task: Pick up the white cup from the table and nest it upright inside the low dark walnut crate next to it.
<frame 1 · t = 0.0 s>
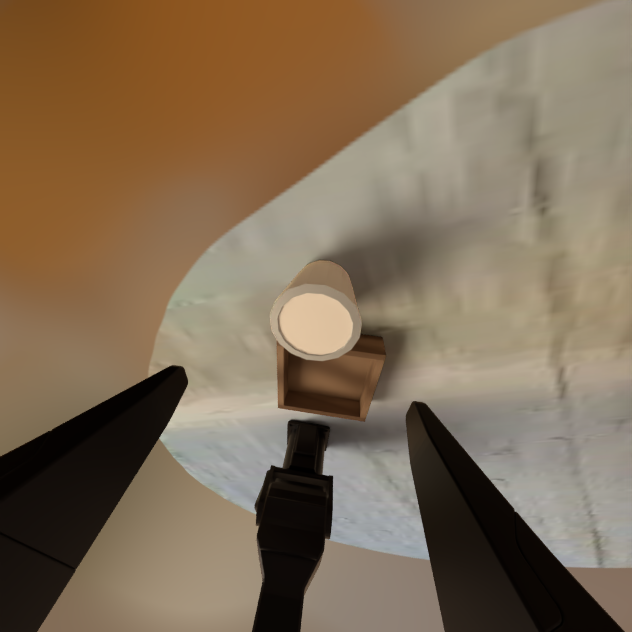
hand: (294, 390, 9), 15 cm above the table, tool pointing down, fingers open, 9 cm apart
walnut crate: (327, 366, 28), on the table
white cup: (323, 286, 23), on the table
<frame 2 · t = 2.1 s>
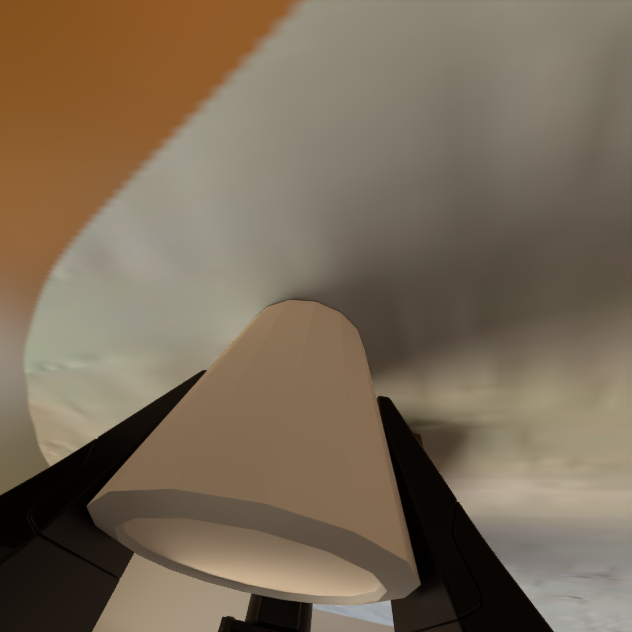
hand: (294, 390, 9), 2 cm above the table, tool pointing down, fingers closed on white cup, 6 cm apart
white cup: (304, 349, 11), on the table, touching gripper
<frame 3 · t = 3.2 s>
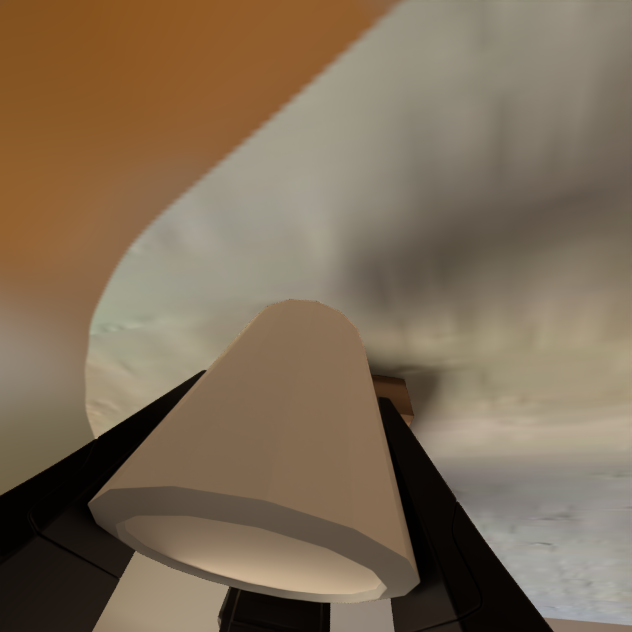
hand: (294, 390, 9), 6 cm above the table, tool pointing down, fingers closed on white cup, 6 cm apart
walnut crate: (322, 413, 20), on the table
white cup: (304, 348, 11), point 4 cm above the table, touching gripper
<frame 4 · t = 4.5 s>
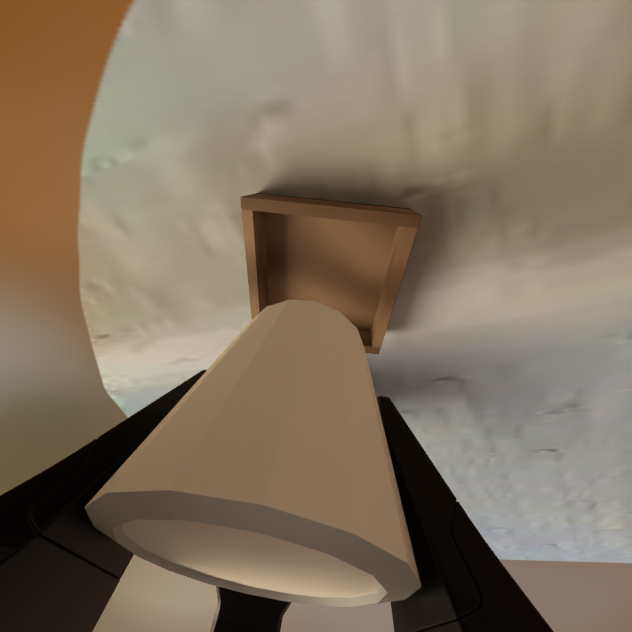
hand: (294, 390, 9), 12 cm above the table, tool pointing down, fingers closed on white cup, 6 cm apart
walnut crate: (324, 273, 19), on the table
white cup: (304, 349, 11), point 10 cm above the table, touching gripper
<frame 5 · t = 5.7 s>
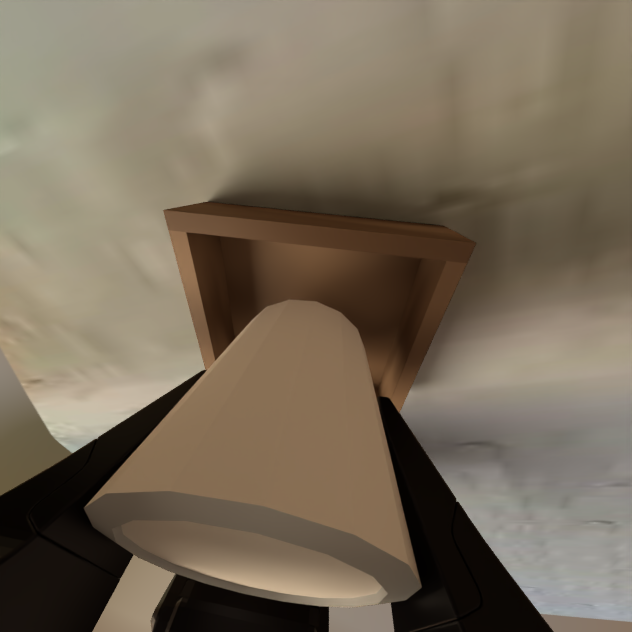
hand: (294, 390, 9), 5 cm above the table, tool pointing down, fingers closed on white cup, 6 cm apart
walnut crate: (313, 314, 13), on the table
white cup: (304, 349, 11), point 3 cm above the table, touching gripper
when the fingers open (4 cm above the table, at t = 6.9 s): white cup drops 1 cm, resting on walnut crate.
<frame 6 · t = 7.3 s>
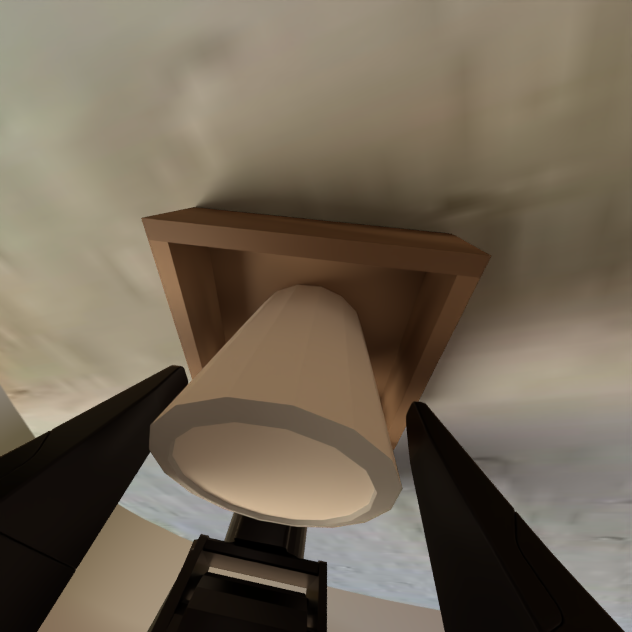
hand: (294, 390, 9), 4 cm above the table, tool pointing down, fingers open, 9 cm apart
walnut crate: (310, 326, 12), on the table
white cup: (308, 330, 12), resting on walnut crate
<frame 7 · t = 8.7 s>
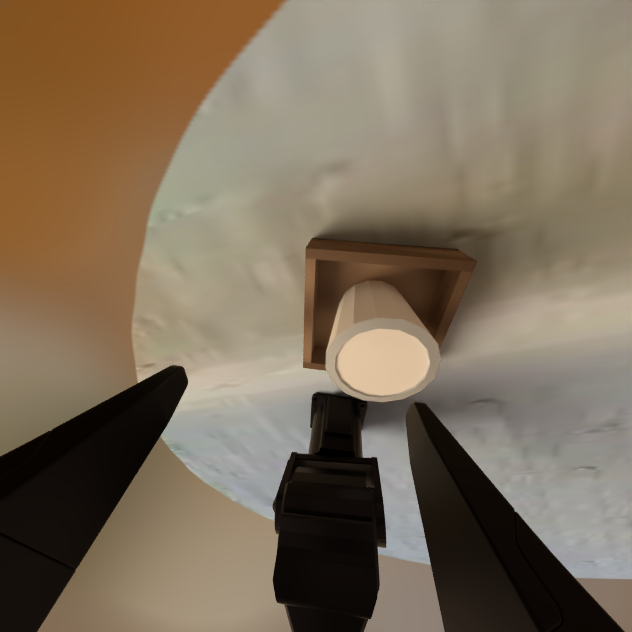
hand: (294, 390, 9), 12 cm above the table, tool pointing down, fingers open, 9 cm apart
walnut crate: (370, 306, 20), on the table
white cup: (370, 308, 20), resting on walnut crate
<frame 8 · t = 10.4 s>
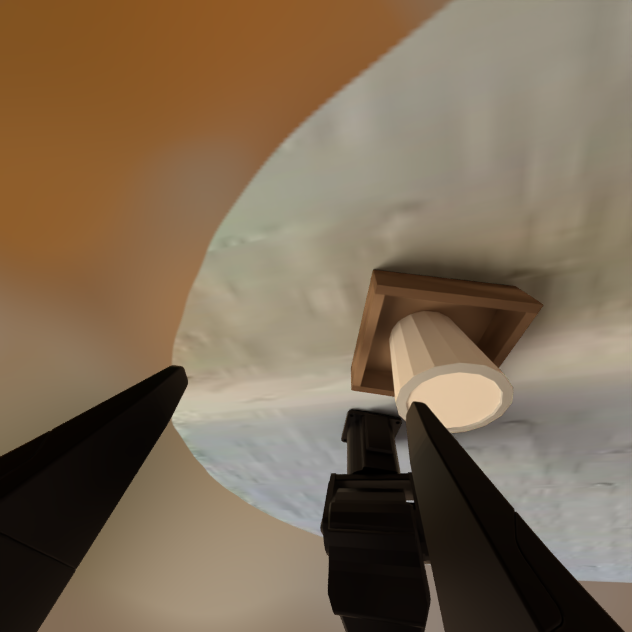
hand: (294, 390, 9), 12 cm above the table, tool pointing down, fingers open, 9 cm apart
walnut crate: (420, 333, 21), on the table
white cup: (421, 336, 20), resting on walnut crate
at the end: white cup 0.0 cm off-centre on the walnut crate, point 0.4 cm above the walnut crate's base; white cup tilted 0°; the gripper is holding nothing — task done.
